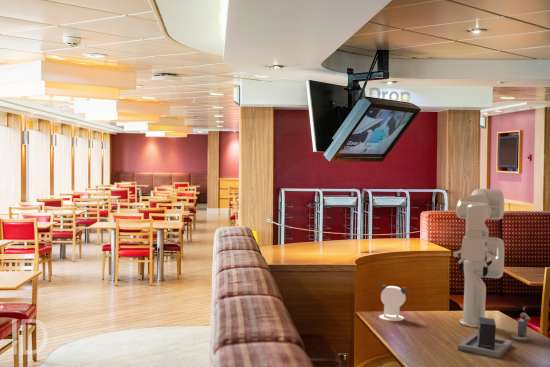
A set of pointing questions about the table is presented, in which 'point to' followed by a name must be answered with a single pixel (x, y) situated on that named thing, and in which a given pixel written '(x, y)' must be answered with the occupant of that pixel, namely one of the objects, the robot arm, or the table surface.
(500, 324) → the table surface
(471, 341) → the tray
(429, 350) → the table surface
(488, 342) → the small box
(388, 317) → the panda figurine
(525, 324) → the figurine
